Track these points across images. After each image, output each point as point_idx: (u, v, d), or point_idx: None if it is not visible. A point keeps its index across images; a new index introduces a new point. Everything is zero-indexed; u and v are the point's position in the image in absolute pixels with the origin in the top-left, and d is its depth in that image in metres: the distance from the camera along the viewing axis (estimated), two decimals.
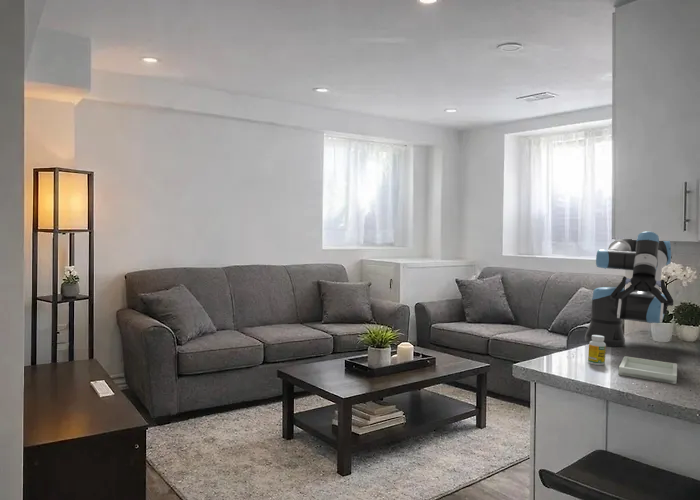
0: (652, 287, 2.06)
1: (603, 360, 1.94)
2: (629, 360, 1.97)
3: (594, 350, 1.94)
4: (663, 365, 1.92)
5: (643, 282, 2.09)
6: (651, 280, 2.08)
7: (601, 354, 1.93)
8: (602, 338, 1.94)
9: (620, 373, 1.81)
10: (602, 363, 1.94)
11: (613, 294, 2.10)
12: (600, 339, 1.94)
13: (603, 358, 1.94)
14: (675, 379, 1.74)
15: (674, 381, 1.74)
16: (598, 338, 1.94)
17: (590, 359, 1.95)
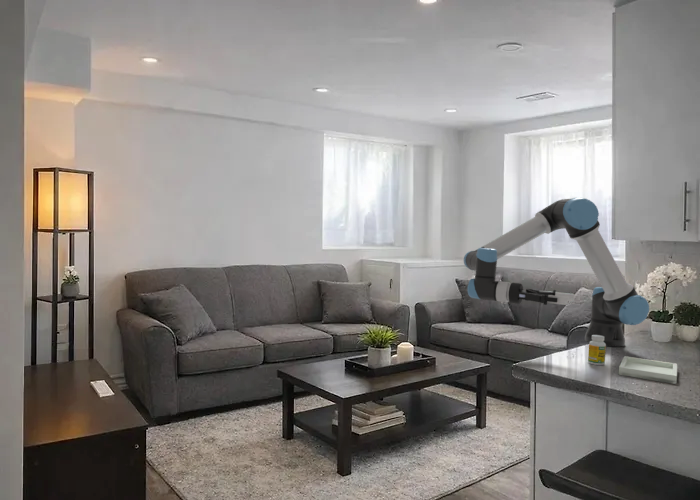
0: None
1: (603, 360, 1.94)
2: (629, 360, 1.97)
3: (594, 350, 1.94)
4: (663, 365, 1.92)
5: None
6: None
7: (601, 354, 1.93)
8: (602, 338, 1.94)
9: (620, 373, 1.81)
10: (602, 363, 1.94)
11: None
12: (600, 339, 1.94)
13: (603, 358, 1.94)
14: (675, 379, 1.74)
15: (674, 381, 1.74)
16: (598, 338, 1.94)
17: (590, 359, 1.95)
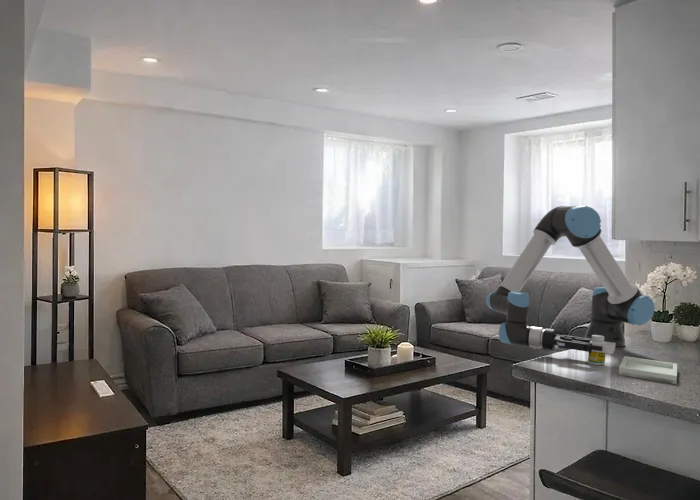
0: None
1: (603, 360, 1.94)
2: (629, 360, 1.97)
3: None
4: (663, 365, 1.92)
5: None
6: None
7: (601, 353, 1.93)
8: (602, 338, 1.94)
9: (620, 373, 1.81)
10: (602, 363, 1.94)
11: None
12: (600, 338, 1.94)
13: (603, 358, 1.94)
14: (675, 379, 1.74)
15: (674, 381, 1.74)
16: (598, 338, 1.94)
17: (590, 359, 1.95)
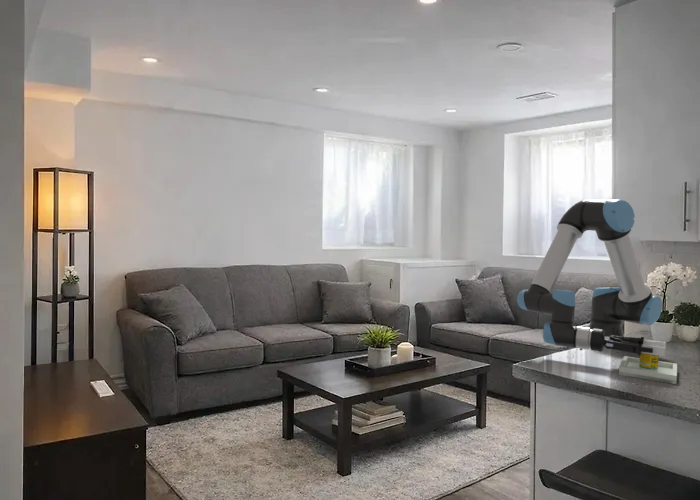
0: None
1: (656, 366, 1.84)
2: (629, 360, 1.97)
3: (647, 356, 1.84)
4: (663, 365, 1.92)
5: None
6: None
7: (654, 359, 1.84)
8: (655, 343, 1.84)
9: (620, 373, 1.81)
10: (655, 369, 1.84)
11: None
12: (653, 343, 1.84)
13: (657, 364, 1.84)
14: (675, 379, 1.74)
15: (674, 381, 1.74)
16: (651, 343, 1.84)
17: (642, 365, 1.85)
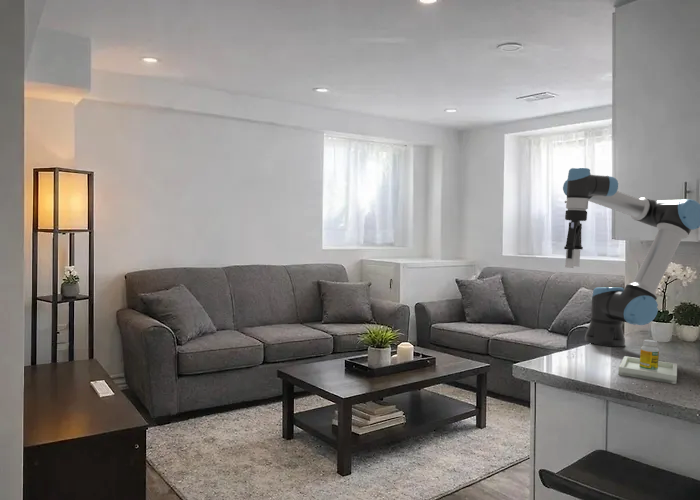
0: None
1: (656, 366, 1.84)
2: (629, 360, 1.97)
3: (647, 356, 1.84)
4: (663, 365, 1.92)
5: None
6: None
7: (654, 359, 1.84)
8: (655, 343, 1.84)
9: (620, 373, 1.81)
10: (655, 369, 1.84)
11: None
12: (653, 344, 1.84)
13: (657, 364, 1.84)
14: (675, 379, 1.74)
15: (674, 381, 1.74)
16: (651, 343, 1.84)
17: (642, 365, 1.85)
